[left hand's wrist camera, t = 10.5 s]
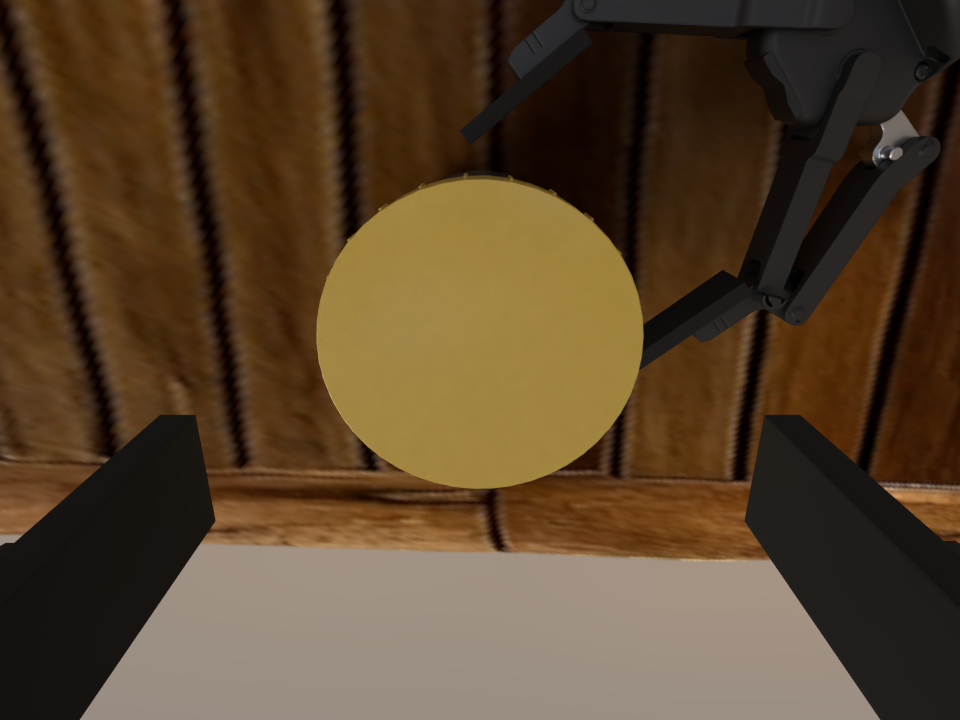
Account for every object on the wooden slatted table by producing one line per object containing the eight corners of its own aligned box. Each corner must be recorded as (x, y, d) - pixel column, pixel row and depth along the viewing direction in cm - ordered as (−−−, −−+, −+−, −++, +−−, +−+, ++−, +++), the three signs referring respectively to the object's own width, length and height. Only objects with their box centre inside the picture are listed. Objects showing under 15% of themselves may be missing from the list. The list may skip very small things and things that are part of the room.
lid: (682, 232, 21) (700, 242, 19) (567, 493, 25) (574, 522, 23) (369, 127, 20) (358, 127, 18) (300, 420, 24) (285, 443, 22)
